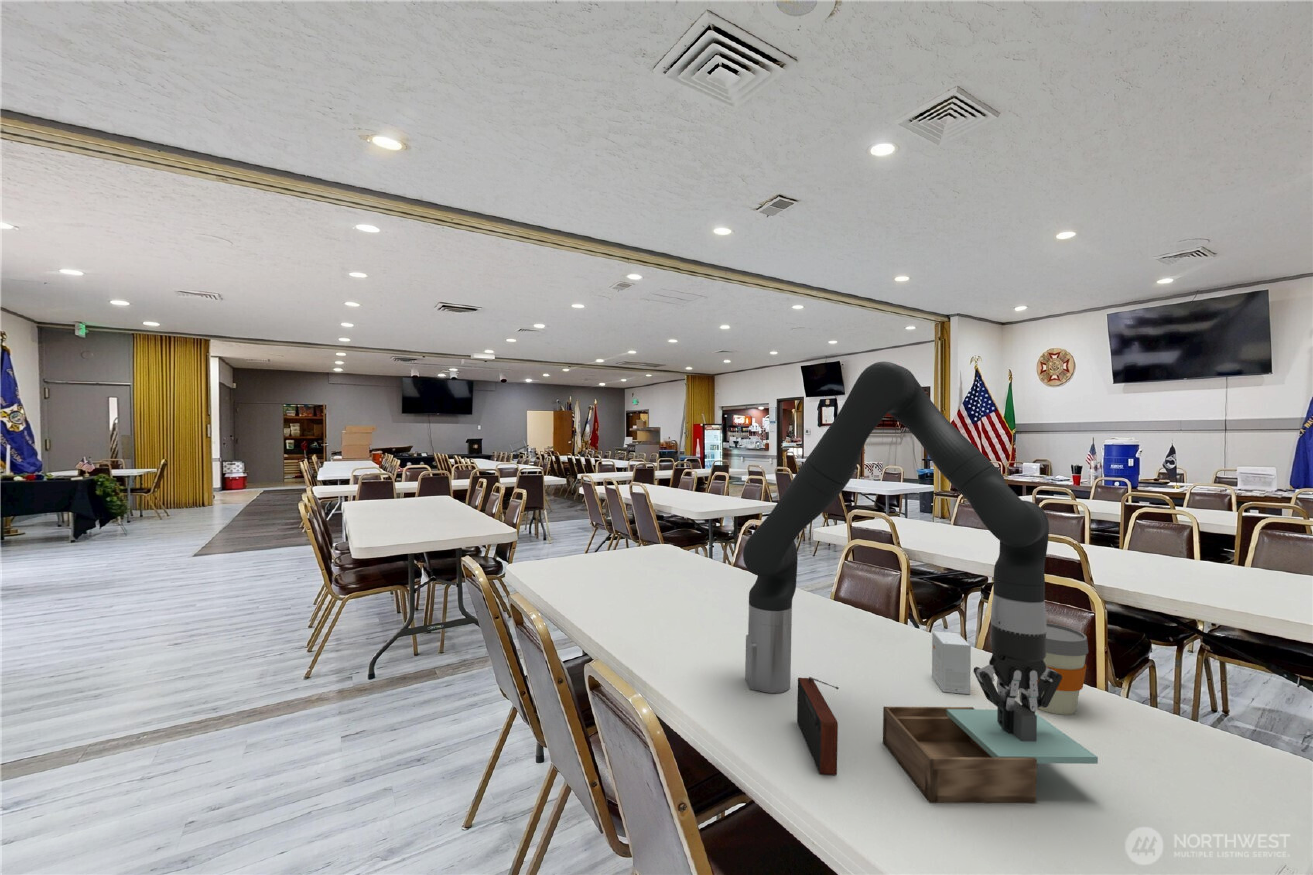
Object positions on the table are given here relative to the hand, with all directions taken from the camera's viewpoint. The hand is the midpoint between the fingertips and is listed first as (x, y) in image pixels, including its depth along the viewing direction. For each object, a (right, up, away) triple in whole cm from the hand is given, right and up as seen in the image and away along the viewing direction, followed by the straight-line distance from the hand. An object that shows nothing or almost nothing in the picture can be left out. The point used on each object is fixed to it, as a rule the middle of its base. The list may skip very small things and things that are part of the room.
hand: (1016, 730), depth 90 cm
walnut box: (-10, -6, 0) cm, 12 cm away
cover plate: (0, -1, 0) cm, 1 cm away
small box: (+6, -7, +31) cm, 33 cm away
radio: (-31, -6, +5) cm, 32 cm away
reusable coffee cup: (+22, -7, +24) cm, 33 cm away
